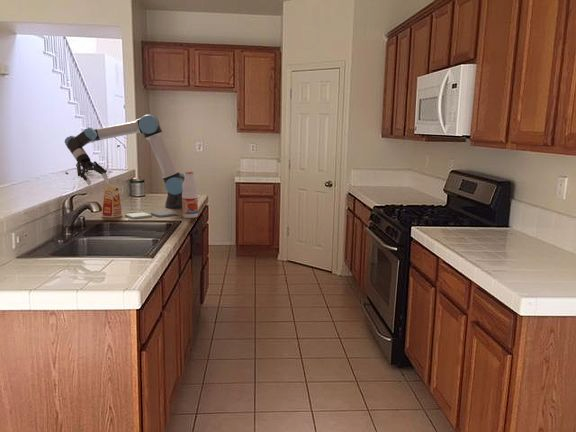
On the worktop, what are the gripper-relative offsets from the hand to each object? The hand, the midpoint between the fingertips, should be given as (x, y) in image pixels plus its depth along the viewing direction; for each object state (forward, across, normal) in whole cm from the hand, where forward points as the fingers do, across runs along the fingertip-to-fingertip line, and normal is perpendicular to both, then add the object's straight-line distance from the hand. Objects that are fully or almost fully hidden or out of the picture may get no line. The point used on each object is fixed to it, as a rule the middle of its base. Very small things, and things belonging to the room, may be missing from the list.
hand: (99, 182), depth 299 cm
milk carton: (+22, 0, -6) cm, 23 cm away
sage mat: (+31, -8, +3) cm, 32 cm away
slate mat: (+37, -21, +10) cm, 44 cm away
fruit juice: (+50, -25, +22) cm, 60 cm away
